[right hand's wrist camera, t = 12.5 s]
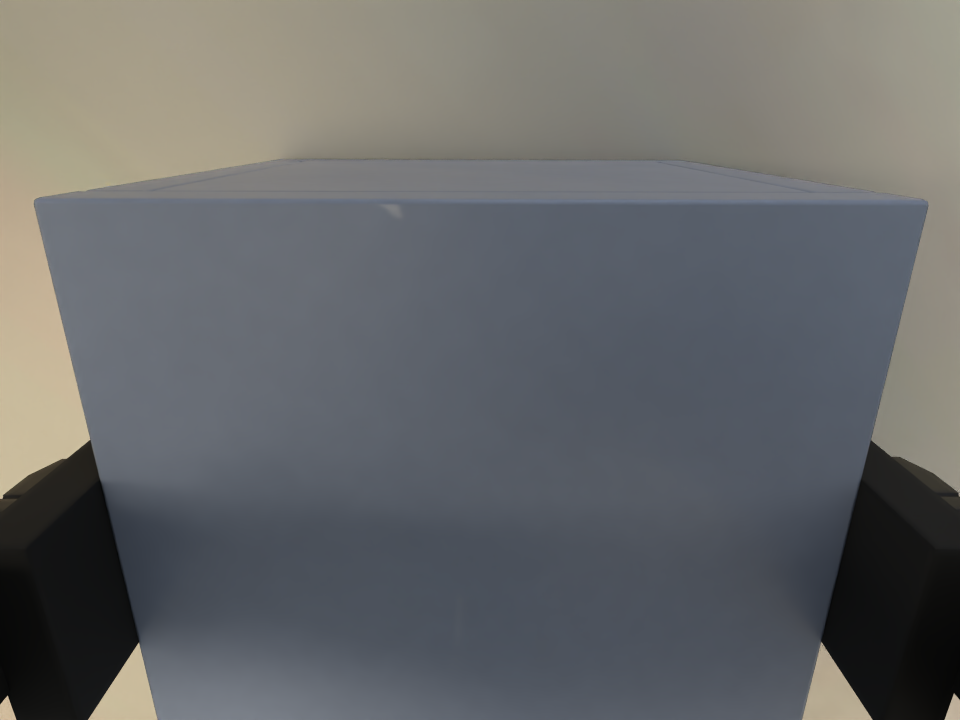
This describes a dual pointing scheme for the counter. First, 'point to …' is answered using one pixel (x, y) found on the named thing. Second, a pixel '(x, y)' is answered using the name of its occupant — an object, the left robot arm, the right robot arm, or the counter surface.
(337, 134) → the counter surface
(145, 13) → the counter surface
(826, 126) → the counter surface
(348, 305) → the cabinet
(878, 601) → the right robot arm
